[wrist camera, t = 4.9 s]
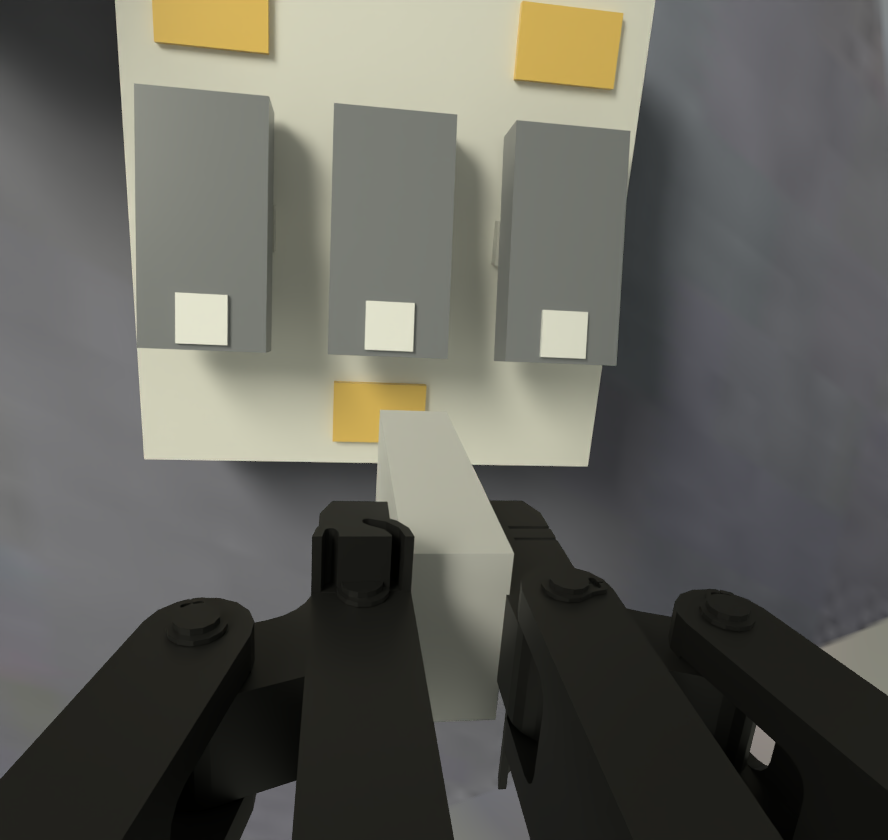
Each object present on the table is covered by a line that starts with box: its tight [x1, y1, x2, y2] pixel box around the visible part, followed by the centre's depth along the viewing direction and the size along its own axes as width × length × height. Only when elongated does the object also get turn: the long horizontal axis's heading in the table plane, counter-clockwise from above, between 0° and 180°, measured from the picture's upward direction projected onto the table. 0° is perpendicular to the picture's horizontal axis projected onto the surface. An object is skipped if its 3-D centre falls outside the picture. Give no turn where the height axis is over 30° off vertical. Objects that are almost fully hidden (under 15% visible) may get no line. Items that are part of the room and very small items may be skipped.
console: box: [115, 0, 655, 467], centre depth 28 cm, size 18×18×7 cm
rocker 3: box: [494, 120, 631, 366], centre depth 24 cm, size 8×4×2 cm, turn 176°
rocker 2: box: [328, 103, 457, 359], centre depth 24 cm, size 8×4×2 cm, turn 176°
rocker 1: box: [134, 83, 274, 353], centre depth 23 cm, size 8×4×2 cm, turn 176°
